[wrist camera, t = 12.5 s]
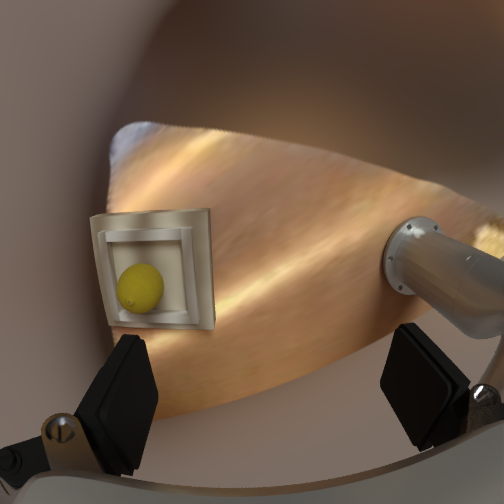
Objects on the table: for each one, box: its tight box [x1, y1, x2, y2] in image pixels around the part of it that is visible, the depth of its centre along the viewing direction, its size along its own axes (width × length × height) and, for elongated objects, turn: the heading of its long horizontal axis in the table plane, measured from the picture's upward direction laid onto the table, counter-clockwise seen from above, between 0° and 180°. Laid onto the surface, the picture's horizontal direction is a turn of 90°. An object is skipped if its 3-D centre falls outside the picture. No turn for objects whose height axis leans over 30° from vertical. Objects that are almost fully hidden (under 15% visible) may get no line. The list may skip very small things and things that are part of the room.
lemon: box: [116, 263, 164, 314], centre depth 31 cm, size 6×6×8 cm
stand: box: [90, 208, 216, 330], centre depth 36 cm, size 16×16×4 cm
